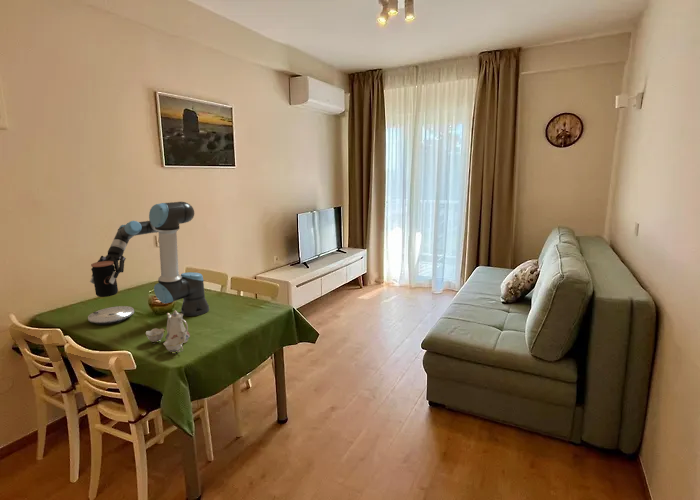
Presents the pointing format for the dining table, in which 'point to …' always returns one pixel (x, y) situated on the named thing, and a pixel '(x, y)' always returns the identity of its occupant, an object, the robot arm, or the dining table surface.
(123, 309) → the disc
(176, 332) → the chinaware
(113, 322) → the turntable base
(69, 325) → the dining table surface
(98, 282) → the coffee jar
